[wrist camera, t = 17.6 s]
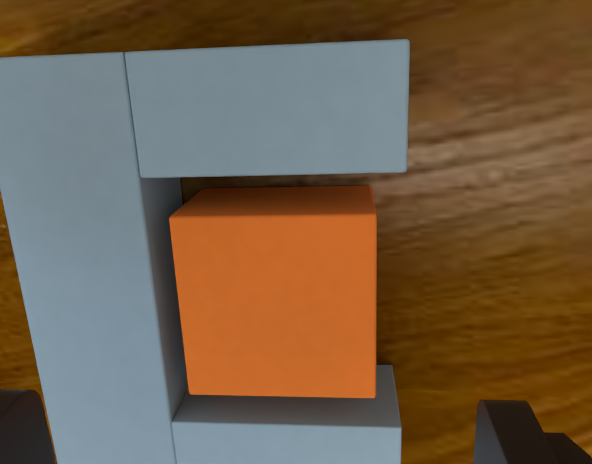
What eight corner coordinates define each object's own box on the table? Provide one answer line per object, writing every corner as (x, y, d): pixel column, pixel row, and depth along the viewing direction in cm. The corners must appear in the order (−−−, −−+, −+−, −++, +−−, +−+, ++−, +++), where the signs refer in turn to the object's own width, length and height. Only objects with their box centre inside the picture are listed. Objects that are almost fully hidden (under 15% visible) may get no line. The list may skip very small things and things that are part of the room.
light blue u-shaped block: (45, 59, 17) (-29, 58, 14) (397, 43, 16) (410, 38, 13) (108, 431, 21) (64, 500, 18) (391, 439, 20) (399, 514, 17)
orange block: (201, 187, 18) (167, 216, 14) (371, 184, 17) (376, 214, 14) (215, 338, 19) (188, 395, 16) (371, 340, 19) (376, 399, 16)
